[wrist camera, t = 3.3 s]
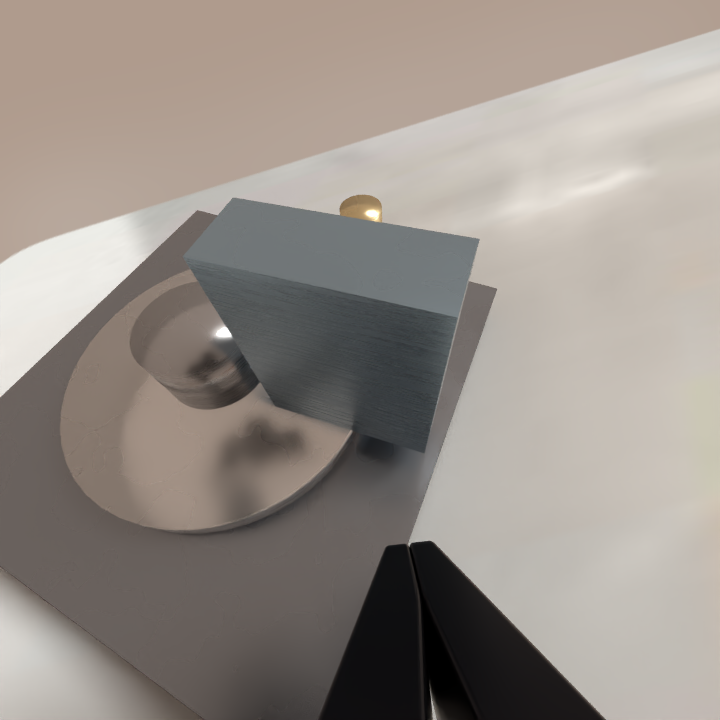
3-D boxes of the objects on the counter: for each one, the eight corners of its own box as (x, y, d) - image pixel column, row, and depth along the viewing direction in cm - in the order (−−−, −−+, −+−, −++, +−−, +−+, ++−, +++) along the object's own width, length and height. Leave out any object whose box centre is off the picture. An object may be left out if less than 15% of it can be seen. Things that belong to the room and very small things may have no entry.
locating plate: (325, 777, 10) (261, 963, 5) (-59, 500, 15) (-284, 453, 10) (489, 309, 18) (527, 202, 13) (207, 230, 23) (157, 131, 18)
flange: (10, 466, 14) (-354, 345, 7) (190, 254, 20) (85, 76, 13) (377, 629, 10) (352, 700, 4) (462, 313, 16) (514, 113, 9)
